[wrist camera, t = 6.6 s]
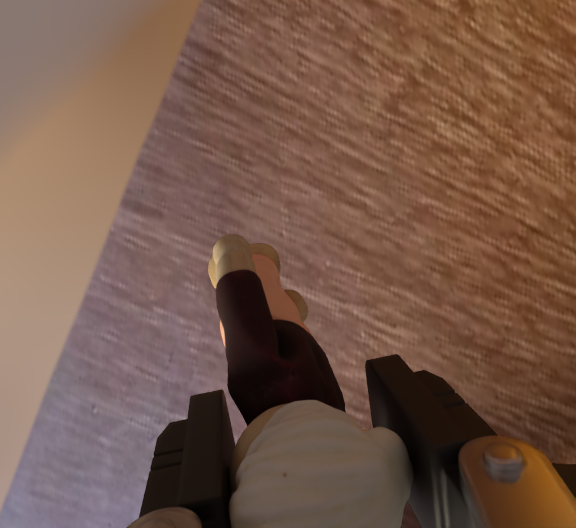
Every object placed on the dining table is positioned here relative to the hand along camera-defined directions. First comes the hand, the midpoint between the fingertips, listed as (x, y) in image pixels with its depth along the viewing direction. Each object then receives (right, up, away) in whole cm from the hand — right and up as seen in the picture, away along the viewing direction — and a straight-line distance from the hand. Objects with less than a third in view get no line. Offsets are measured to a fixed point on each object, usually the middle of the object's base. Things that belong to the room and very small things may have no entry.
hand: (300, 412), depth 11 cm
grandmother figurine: (-1, +2, +8) cm, 8 cm away
